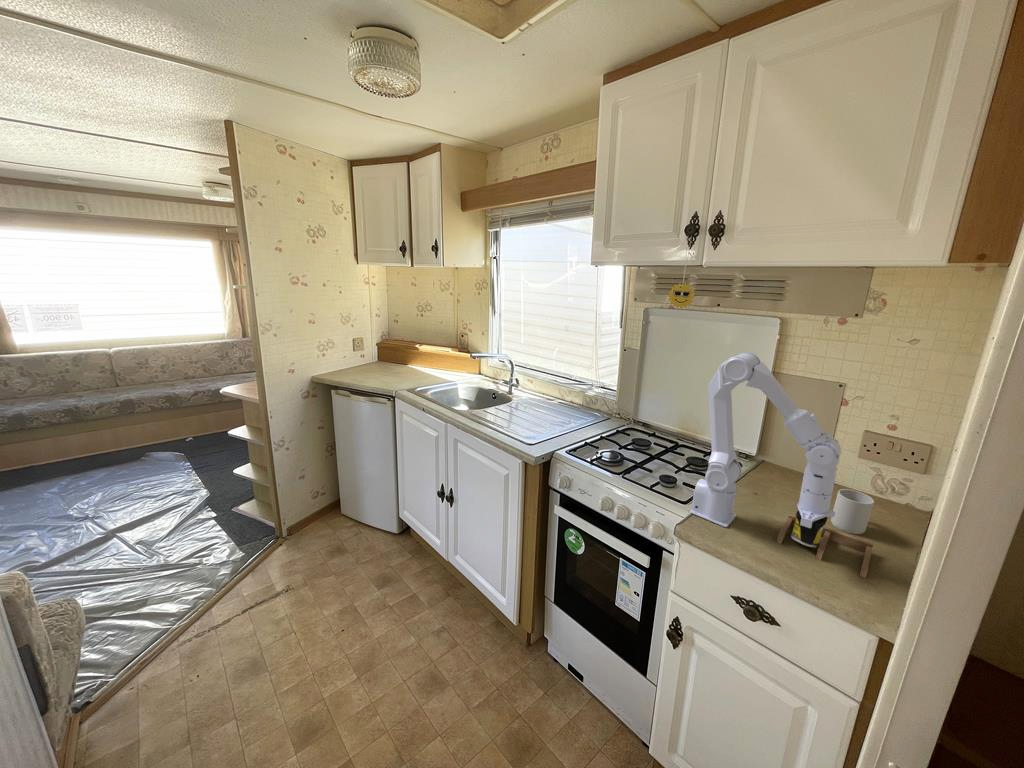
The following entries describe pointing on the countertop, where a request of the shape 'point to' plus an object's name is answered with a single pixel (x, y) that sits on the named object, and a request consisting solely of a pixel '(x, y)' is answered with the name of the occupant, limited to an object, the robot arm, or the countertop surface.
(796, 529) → the supplement bottle
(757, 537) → the countertop surface
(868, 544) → the rack
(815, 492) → the robot arm
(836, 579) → the countertop surface
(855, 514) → the cup
